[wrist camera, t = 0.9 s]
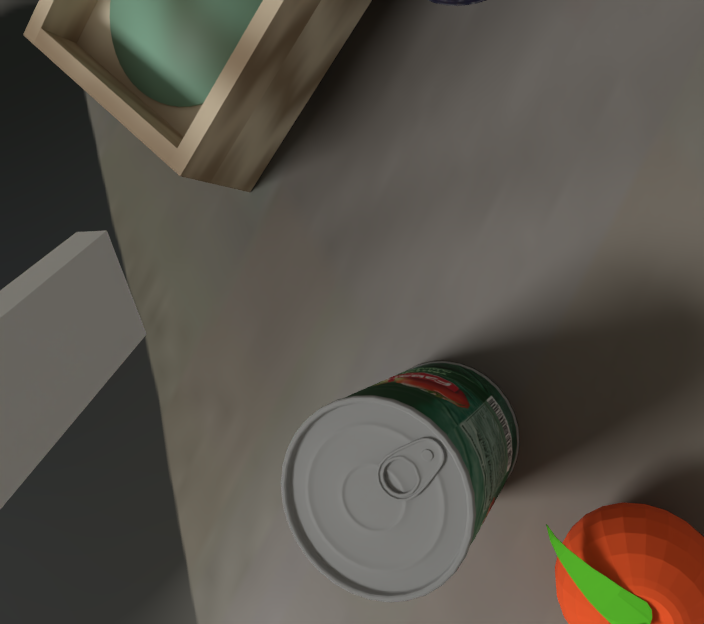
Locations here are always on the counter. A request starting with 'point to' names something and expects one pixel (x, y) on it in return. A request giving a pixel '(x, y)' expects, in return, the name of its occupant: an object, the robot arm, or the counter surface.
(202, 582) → the counter surface
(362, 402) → the canned tomato
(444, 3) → the blue metal drum
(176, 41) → the open wooden box
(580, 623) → the clementine
